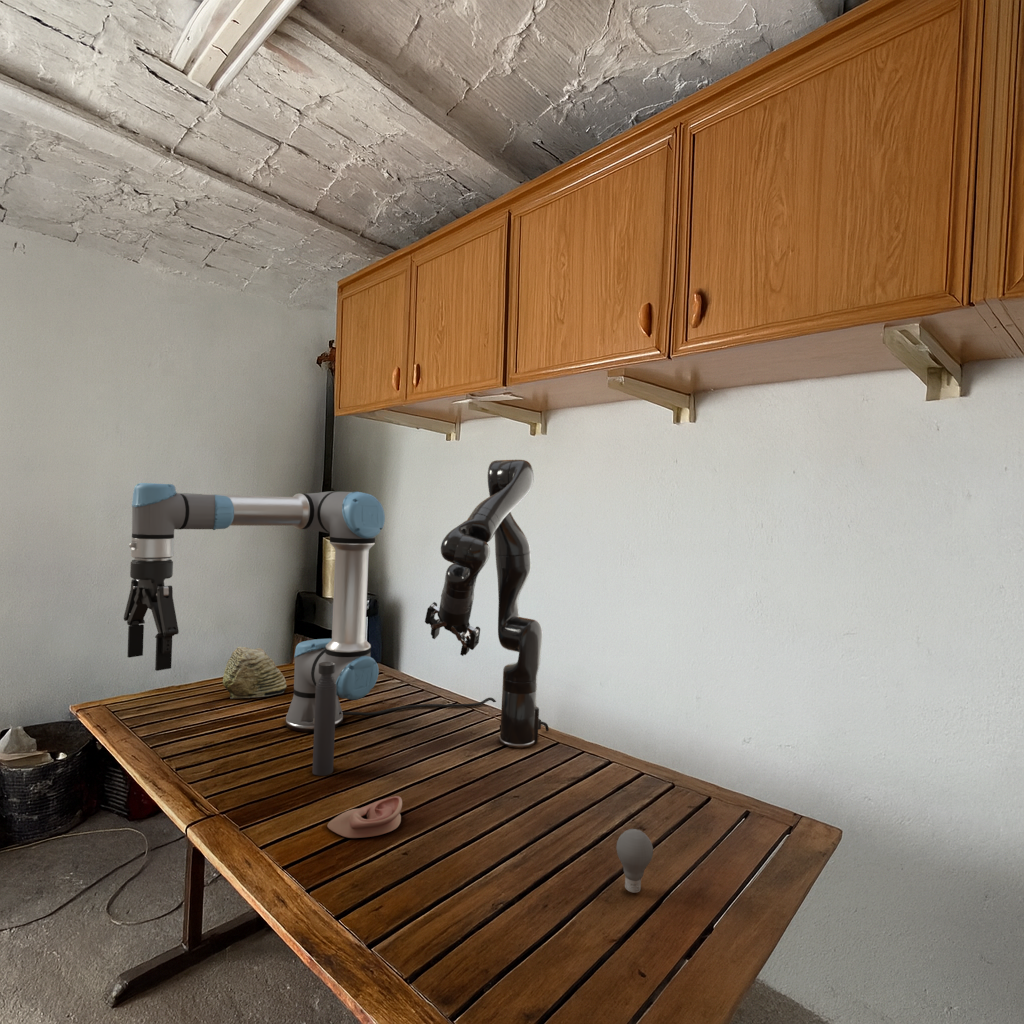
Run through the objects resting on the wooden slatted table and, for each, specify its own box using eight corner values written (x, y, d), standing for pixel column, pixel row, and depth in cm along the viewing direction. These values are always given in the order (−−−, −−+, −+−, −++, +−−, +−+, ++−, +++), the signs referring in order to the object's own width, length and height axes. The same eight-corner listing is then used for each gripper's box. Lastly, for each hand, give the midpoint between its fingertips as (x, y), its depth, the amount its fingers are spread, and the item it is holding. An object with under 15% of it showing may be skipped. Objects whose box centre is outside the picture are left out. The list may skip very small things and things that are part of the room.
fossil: (218, 695, 195) (220, 647, 195) (278, 685, 208) (279, 640, 207) (228, 703, 189) (230, 653, 188) (289, 692, 201) (290, 645, 201)
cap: (337, 670, 147) (337, 662, 147) (331, 675, 144) (332, 666, 144) (321, 669, 147) (322, 661, 147) (315, 674, 144) (316, 665, 144)
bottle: (336, 768, 148) (340, 663, 148) (329, 776, 143) (333, 668, 143) (316, 766, 148) (320, 662, 148) (309, 775, 144) (313, 667, 143)
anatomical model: (320, 812, 119) (347, 786, 130) (319, 833, 119) (347, 805, 130) (386, 822, 116) (408, 795, 127) (385, 844, 116) (408, 814, 128)
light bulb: (610, 879, 108) (613, 822, 108) (644, 879, 109) (647, 822, 109) (619, 902, 102) (622, 840, 102) (655, 901, 103) (658, 840, 103)
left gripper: (108, 554, 134) (104, 654, 134) (159, 565, 118) (155, 678, 119) (146, 552, 140) (143, 648, 140) (199, 563, 124) (195, 671, 124)
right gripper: (490, 606, 149) (481, 649, 159) (440, 578, 153) (434, 622, 163) (473, 625, 143) (465, 669, 153) (422, 596, 147) (417, 640, 158)
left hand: (148, 662), depth 129 cm, fingers open, 13 cm apart
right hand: (449, 644), depth 158 cm, fingers open, 8 cm apart
